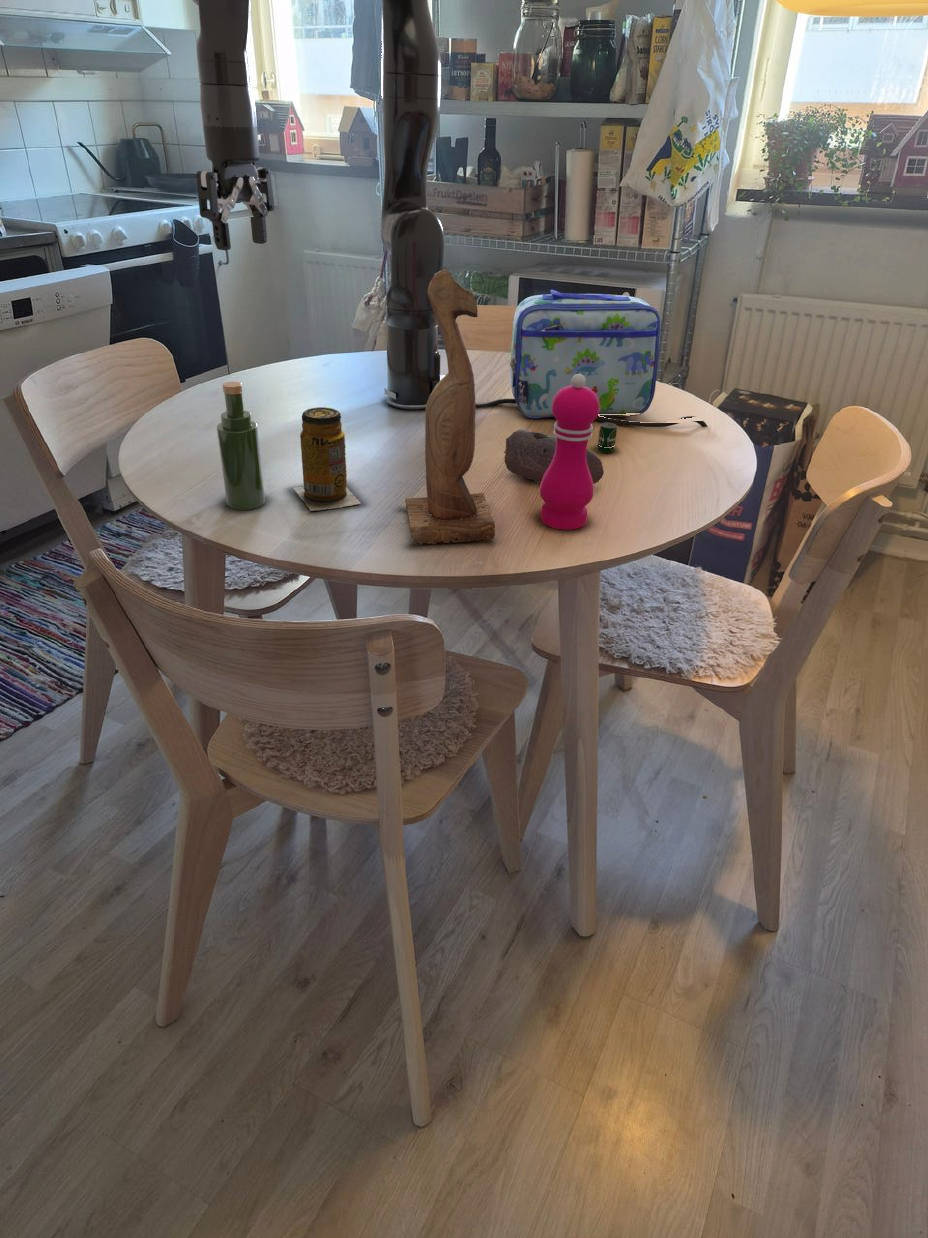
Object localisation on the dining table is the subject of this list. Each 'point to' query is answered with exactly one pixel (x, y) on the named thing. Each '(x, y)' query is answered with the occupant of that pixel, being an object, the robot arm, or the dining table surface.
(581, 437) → the pepper mill
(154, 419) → the dining table surface
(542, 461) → the perforated stone tool
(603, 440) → the beer can
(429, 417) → the bird sculpture
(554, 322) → the lunch box
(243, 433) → the oil bottle
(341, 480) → the condiment
